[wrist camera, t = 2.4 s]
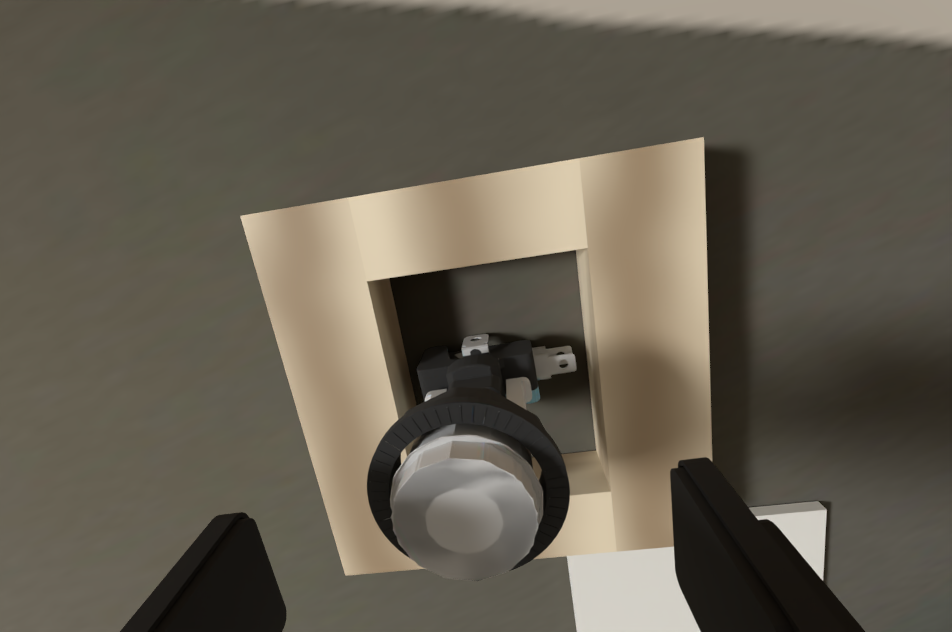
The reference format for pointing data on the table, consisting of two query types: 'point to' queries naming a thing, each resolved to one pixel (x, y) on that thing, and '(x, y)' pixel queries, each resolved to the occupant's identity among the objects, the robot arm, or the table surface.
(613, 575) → the felt mat
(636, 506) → the pocket block
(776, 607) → the robot arm
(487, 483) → the push button
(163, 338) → the table surface
